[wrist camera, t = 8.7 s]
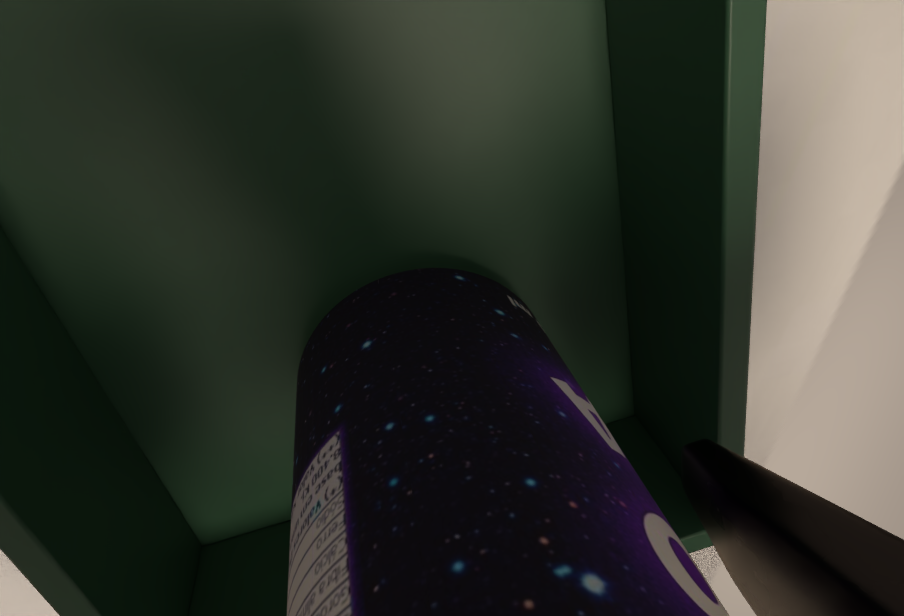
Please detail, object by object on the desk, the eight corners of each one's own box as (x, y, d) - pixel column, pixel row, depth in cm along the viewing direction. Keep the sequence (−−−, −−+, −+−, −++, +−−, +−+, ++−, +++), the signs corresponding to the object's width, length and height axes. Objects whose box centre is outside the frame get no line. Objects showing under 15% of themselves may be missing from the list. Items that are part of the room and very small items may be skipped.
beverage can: (438, 482, 17) (647, 1328, 6) (249, 393, 14) (67, 1553, 4) (580, 329, 15) (1169, 1106, 5) (396, 199, 13) (774, 1230, 2)
